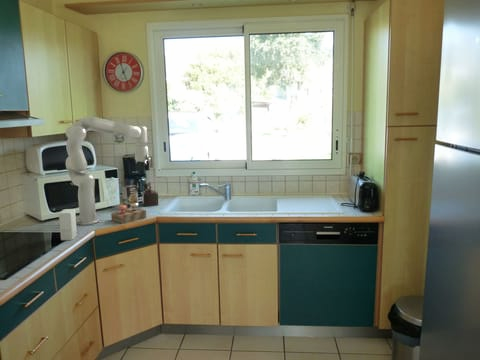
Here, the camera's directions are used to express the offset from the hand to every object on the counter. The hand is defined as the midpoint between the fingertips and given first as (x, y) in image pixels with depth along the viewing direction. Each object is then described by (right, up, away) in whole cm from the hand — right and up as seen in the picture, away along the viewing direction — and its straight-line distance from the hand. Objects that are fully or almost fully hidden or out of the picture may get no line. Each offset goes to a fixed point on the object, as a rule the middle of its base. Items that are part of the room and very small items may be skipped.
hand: (142, 169), depth 274 cm
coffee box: (-12, -27, +13) cm, 32 cm away
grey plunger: (-2, -27, -14) cm, 31 cm away
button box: (-5, -32, -16) cm, 36 cm away
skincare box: (-28, -39, -53) cm, 72 cm away
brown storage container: (+1, -26, +20) cm, 33 cm away
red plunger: (-8, -28, -20) cm, 36 cm away
